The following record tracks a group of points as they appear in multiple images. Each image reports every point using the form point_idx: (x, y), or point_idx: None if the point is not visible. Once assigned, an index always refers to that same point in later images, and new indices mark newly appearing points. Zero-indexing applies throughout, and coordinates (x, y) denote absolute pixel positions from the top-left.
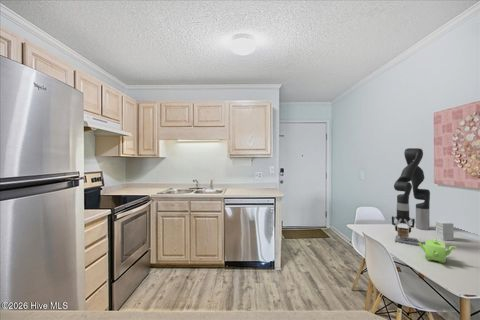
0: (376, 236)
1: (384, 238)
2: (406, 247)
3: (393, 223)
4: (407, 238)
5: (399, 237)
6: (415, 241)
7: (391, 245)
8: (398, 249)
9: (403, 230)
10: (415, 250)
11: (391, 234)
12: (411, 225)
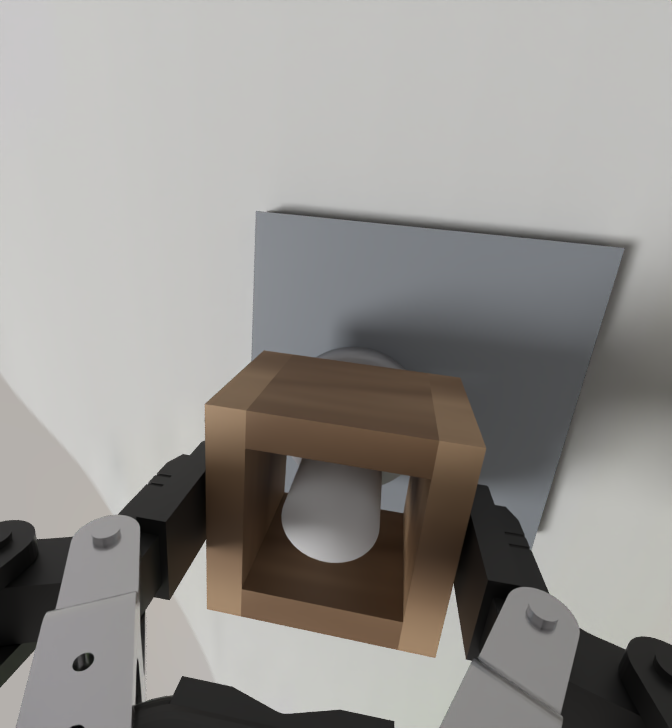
0: (11, 333)
1: (119, 382)
2: None
3: (4, 665)
4: None
5: None
6: (533, 438)
7: None
8: (285, 689)
9: (330, 633)
10: (451, 672)
11: (189, 66)
12: (608, 704)
